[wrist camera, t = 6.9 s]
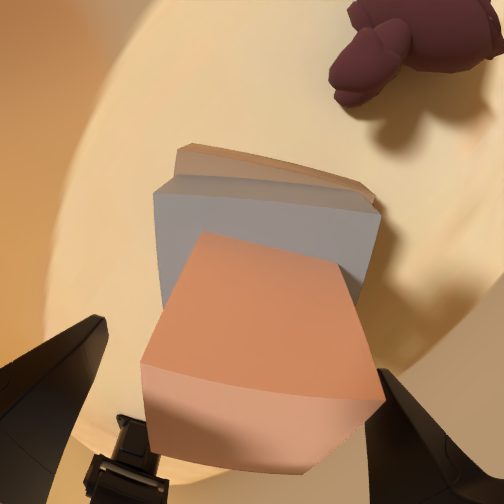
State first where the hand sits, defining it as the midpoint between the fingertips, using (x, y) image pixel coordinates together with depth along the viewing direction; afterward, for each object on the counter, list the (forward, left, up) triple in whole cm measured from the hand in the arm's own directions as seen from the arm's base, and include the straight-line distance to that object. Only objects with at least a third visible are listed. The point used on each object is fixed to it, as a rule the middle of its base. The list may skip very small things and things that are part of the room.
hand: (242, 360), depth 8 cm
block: (0, 0, -3) cm, 3 cm away
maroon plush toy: (+15, -5, -9) cm, 18 cm away
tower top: (0, 0, -6) cm, 6 cm away
